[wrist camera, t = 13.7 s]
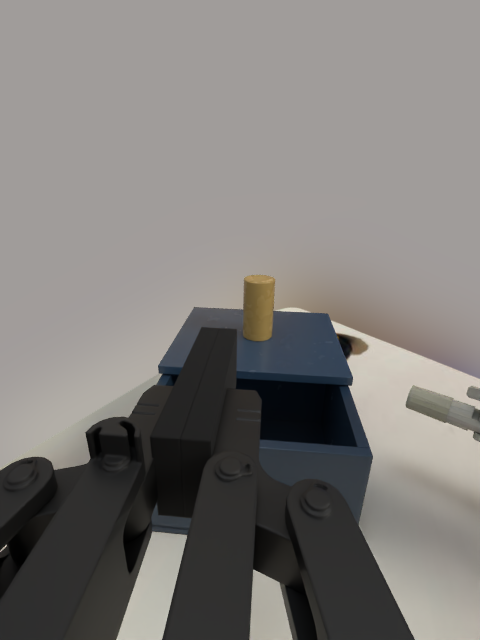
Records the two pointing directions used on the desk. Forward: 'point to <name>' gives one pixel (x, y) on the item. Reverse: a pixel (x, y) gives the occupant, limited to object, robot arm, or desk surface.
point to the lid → (268, 340)
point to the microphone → (447, 408)
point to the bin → (302, 440)
